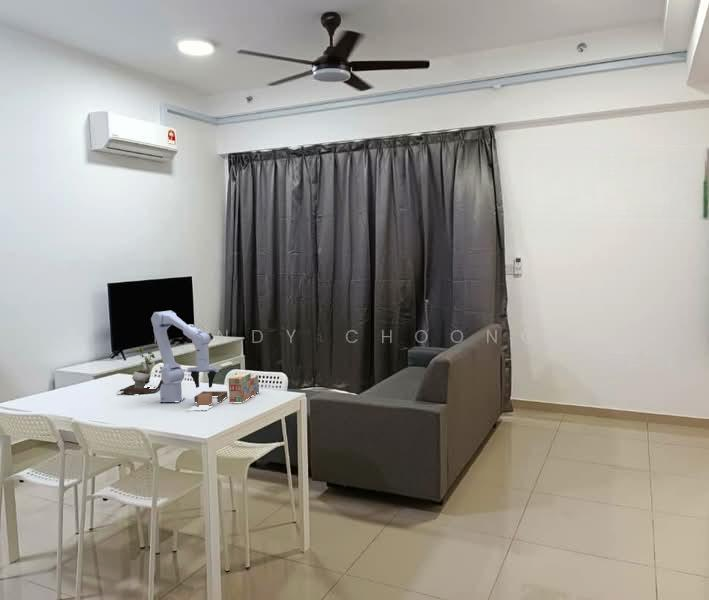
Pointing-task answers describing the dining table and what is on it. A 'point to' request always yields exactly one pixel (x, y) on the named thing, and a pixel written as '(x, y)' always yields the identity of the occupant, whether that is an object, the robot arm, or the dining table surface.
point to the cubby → (220, 395)
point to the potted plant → (141, 377)
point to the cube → (204, 399)
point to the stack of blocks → (242, 386)
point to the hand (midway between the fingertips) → (204, 387)
